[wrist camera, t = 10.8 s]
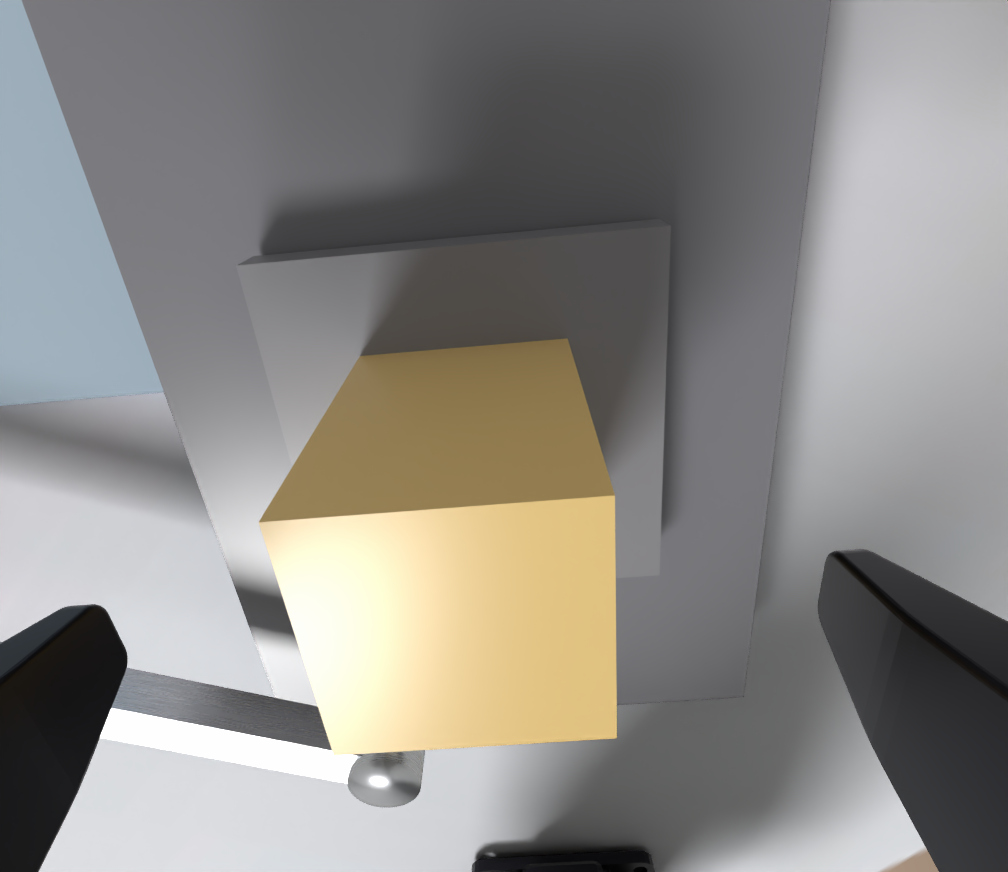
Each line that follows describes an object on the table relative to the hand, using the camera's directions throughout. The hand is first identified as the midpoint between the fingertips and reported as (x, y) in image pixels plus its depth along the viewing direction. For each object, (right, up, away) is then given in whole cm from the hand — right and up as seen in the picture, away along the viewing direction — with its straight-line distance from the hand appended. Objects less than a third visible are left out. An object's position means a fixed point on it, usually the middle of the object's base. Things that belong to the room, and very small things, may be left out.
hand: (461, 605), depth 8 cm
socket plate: (0, +3, +6) cm, 7 cm away
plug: (0, +3, +6) cm, 7 cm away
